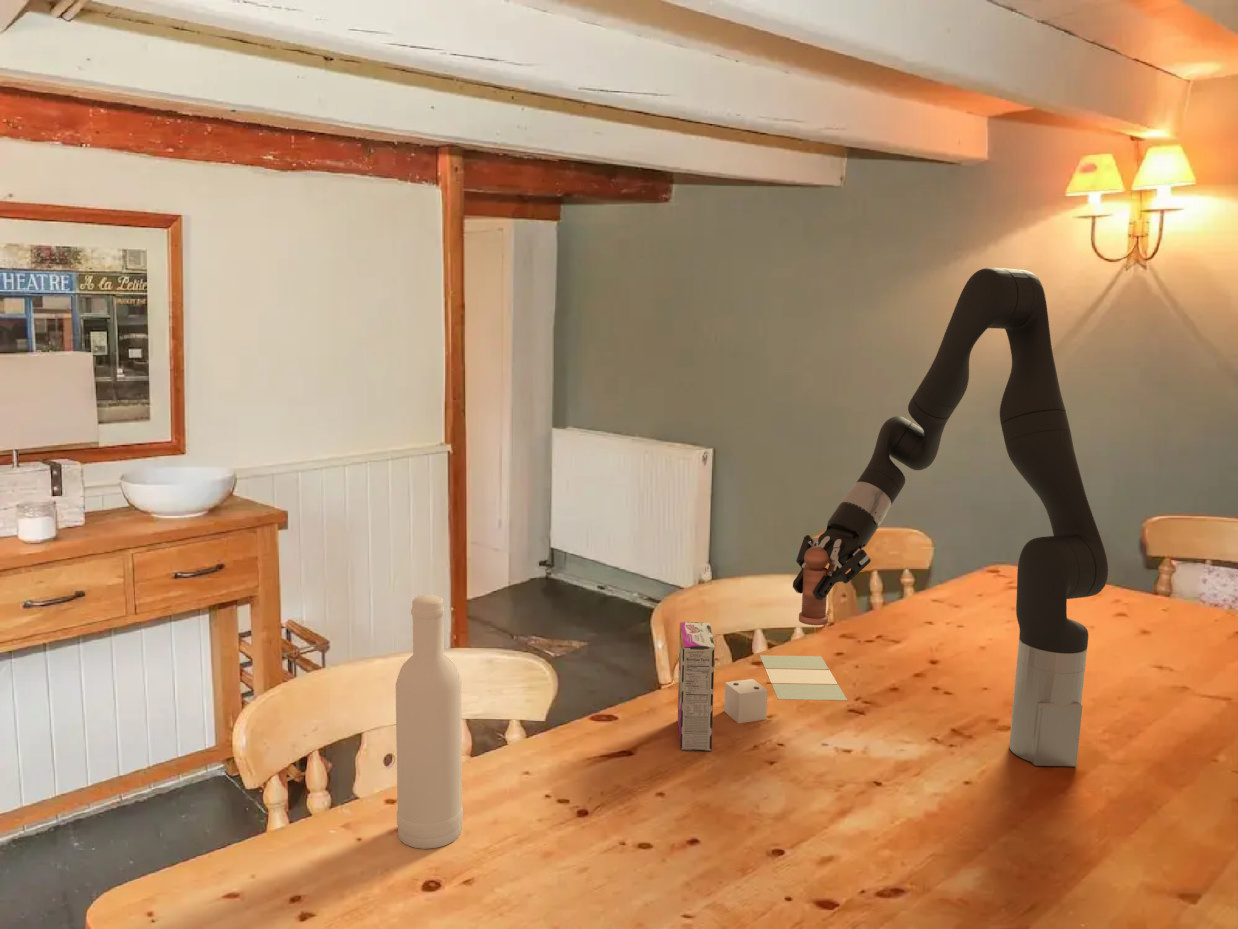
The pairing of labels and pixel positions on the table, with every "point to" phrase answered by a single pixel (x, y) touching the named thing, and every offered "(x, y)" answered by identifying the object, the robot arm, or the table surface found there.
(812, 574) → the pawn
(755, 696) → the die
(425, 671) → the bottle
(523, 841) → the table surface
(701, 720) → the candy bar box
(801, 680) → the board
